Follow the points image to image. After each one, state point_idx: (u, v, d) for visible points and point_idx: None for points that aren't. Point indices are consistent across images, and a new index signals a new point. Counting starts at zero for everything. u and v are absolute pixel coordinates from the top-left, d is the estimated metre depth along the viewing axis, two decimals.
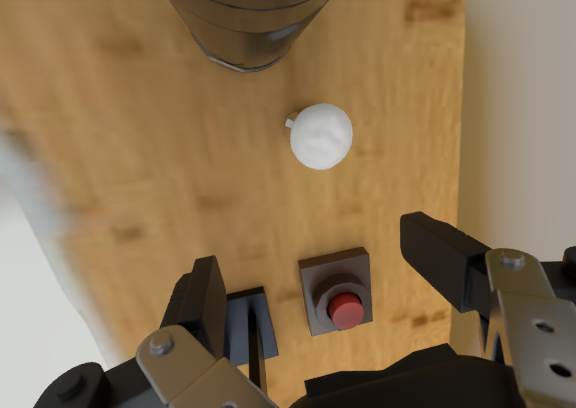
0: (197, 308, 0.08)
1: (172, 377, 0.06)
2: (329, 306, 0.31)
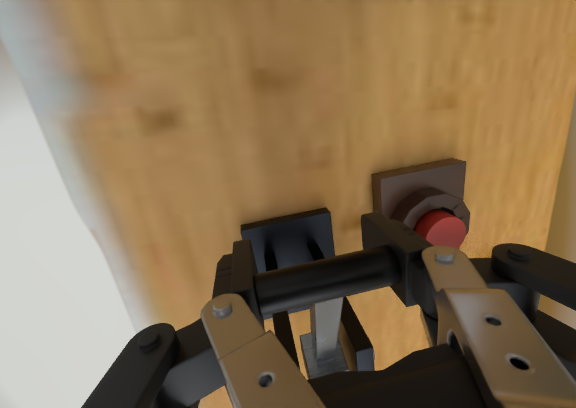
0: (246, 281, 0.09)
1: (226, 338, 0.07)
2: (418, 226, 0.23)
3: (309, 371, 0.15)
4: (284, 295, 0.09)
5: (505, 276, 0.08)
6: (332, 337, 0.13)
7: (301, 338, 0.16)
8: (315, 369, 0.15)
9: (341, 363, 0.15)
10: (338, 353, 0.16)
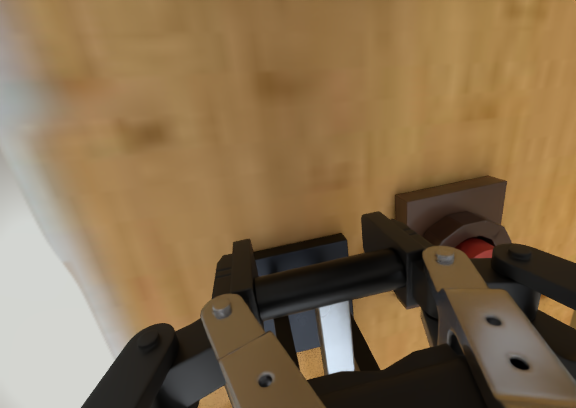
0: (246, 281, 0.09)
1: (226, 338, 0.07)
2: None
3: None
4: (283, 291, 0.09)
5: (505, 276, 0.08)
6: None
7: None
8: None
9: None
10: None
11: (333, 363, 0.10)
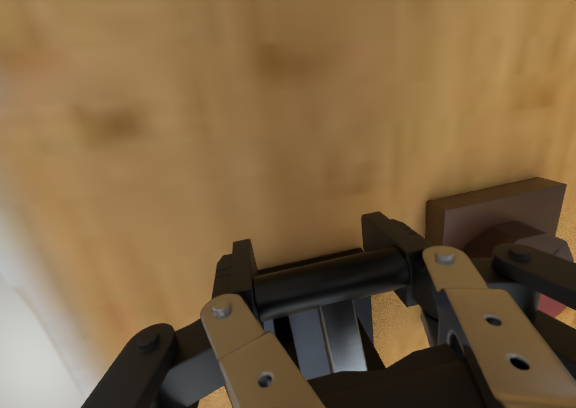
0: (246, 281, 0.09)
1: (226, 338, 0.07)
2: None
3: None
4: (282, 281, 0.09)
5: (506, 276, 0.08)
6: None
7: None
8: None
9: None
10: None
11: None
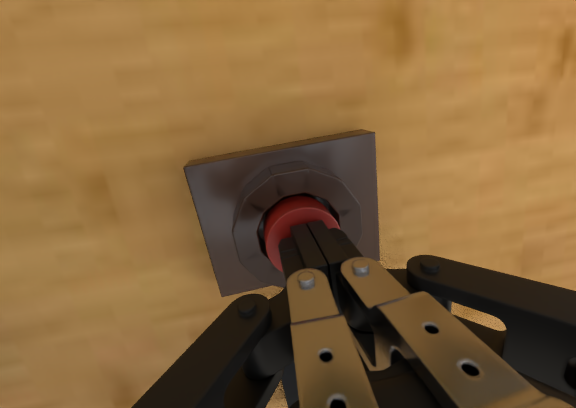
0: (318, 258, 0.09)
1: (303, 308, 0.07)
2: None
3: None
4: None
5: (416, 288, 0.08)
6: None
7: None
8: None
9: None
10: None
11: None
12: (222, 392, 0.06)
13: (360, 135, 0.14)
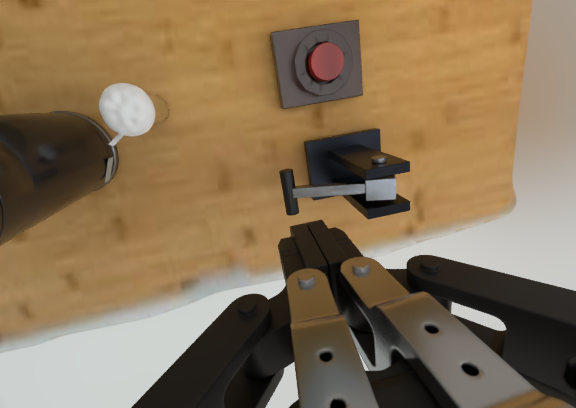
0: (318, 258, 0.09)
1: (303, 307, 0.07)
2: (319, 80, 0.31)
3: (366, 198, 0.28)
4: (286, 207, 0.31)
5: (416, 288, 0.08)
6: (330, 188, 0.29)
7: None
8: (366, 195, 0.28)
9: (365, 181, 0.27)
10: None
11: (318, 194, 0.29)
12: (222, 392, 0.06)
13: None
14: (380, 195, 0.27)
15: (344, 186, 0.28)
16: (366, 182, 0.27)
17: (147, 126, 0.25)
